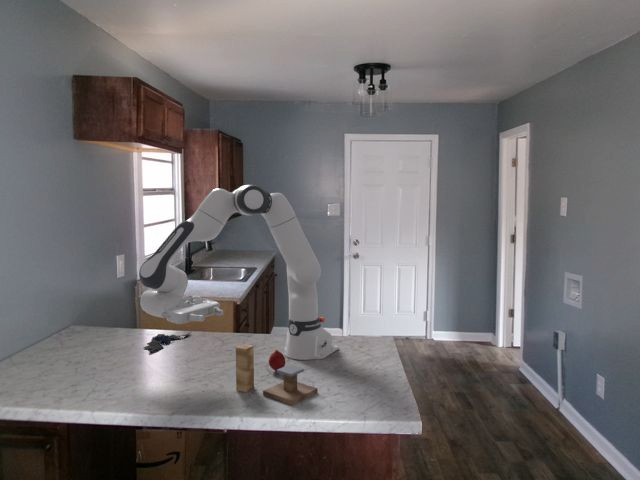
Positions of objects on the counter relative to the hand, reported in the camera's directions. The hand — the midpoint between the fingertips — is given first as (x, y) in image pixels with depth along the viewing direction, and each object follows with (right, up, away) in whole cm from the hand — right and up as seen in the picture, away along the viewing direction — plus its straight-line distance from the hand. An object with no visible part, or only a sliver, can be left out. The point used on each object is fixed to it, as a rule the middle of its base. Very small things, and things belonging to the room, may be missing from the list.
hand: (212, 315), depth 173 cm
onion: (+20, -21, +12) cm, 32 cm away
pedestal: (+26, -23, -8) cm, 35 cm away
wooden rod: (+11, -23, -3) cm, 26 cm away
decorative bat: (-30, -18, +46) cm, 58 cm away
